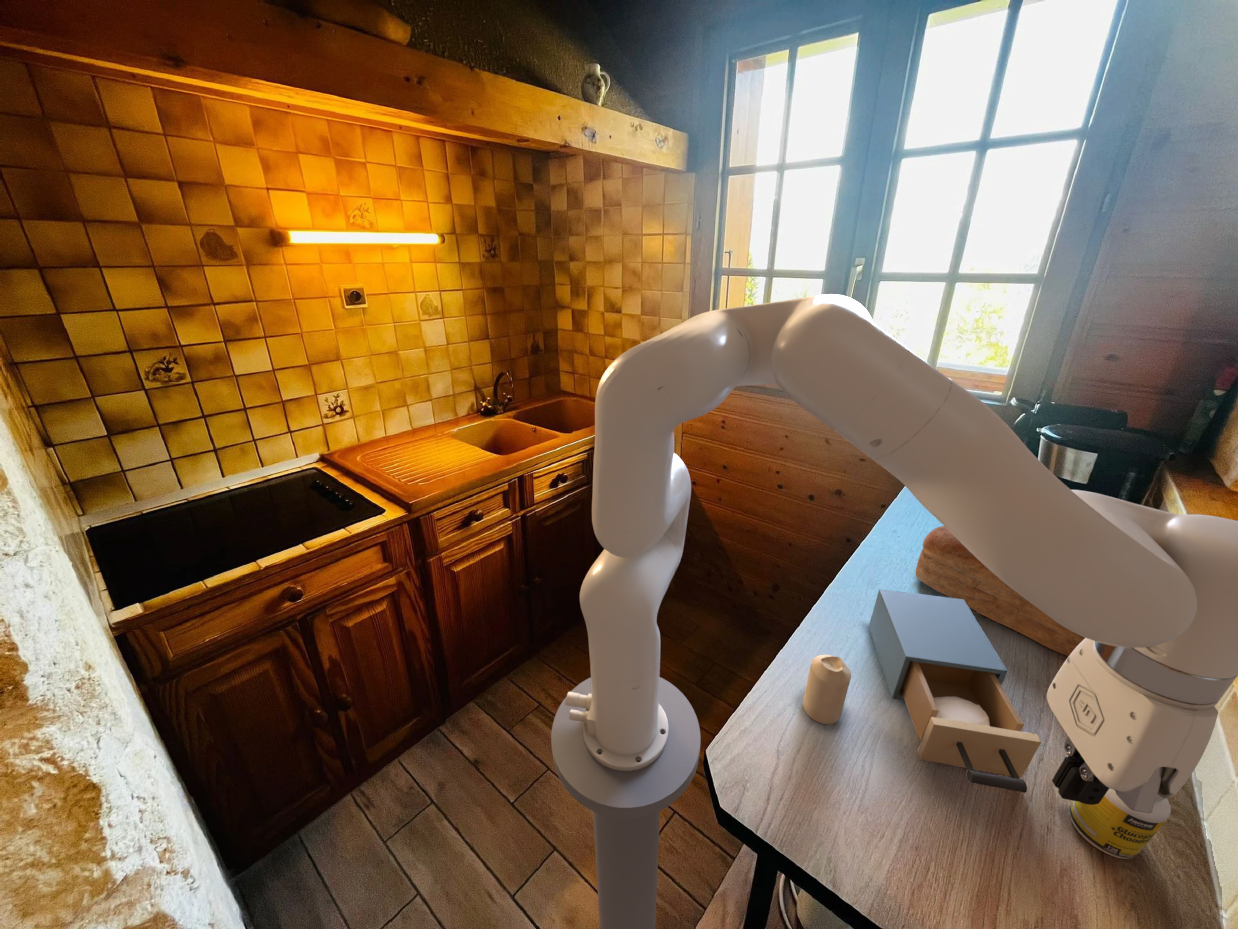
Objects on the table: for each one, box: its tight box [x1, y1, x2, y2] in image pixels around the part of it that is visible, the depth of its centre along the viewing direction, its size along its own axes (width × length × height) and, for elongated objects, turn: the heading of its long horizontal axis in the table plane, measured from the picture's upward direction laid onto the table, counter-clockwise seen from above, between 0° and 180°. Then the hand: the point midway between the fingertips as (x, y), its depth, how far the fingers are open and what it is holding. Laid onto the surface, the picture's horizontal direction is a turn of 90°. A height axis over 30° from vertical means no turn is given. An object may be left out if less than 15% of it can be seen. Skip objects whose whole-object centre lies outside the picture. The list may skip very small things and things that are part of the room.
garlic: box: [934, 696, 990, 726], centre depth 70 cm, size 8×7×4 cm
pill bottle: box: [1068, 788, 1172, 860], centre depth 58 cm, size 6×6×12 cm
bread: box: [915, 525, 1085, 658], centre depth 92 cm, size 12×31×14 cm, turn 35°
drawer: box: [901, 661, 1042, 794], centre depth 69 cm, size 20×12×7 cm, turn 168°
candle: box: [802, 654, 852, 725], centre depth 74 cm, size 6×6×10 cm
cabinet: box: [868, 589, 1008, 701], centre depth 81 cm, size 16×14×9 cm
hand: (1074, 793), depth 48 cm, fingers closed
